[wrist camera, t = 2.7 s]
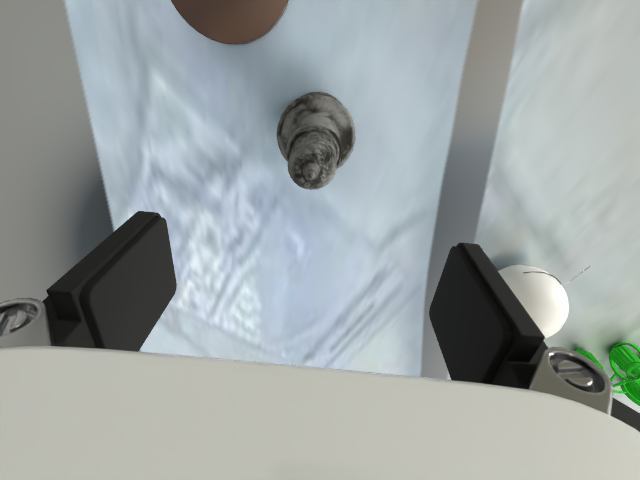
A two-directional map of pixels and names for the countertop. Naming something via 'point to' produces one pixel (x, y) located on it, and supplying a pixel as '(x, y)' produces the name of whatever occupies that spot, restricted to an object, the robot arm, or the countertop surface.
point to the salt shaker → (315, 138)
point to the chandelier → (629, 363)
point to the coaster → (232, 18)
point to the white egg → (539, 296)
